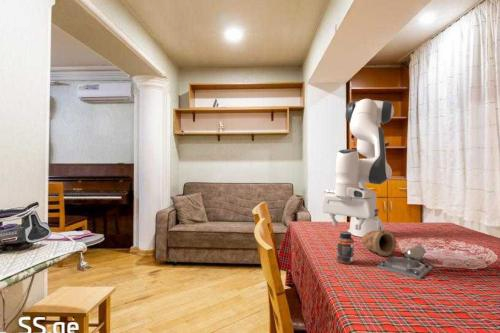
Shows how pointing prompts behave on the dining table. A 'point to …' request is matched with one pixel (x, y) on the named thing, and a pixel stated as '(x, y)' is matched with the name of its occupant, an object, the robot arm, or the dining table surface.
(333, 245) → the dining table surface
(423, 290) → the dining table surface
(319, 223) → the dining table surface
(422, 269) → the flange seat
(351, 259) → the supplement bottle
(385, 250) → the clay pipe
